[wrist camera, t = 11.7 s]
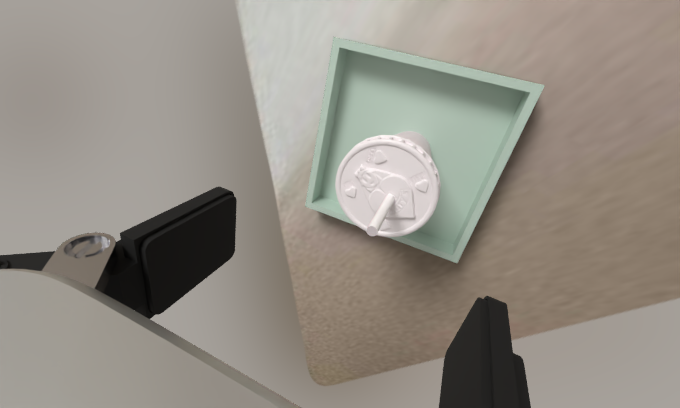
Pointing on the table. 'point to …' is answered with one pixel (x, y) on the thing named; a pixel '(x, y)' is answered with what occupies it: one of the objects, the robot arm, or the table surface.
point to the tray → (421, 131)
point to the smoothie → (389, 184)
